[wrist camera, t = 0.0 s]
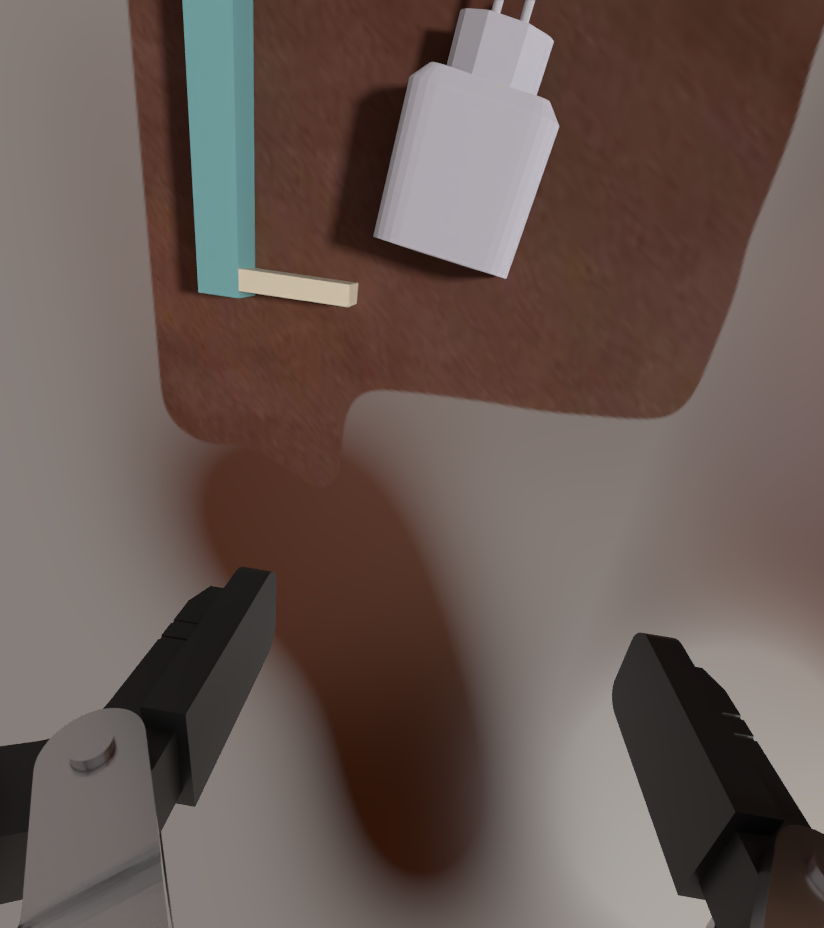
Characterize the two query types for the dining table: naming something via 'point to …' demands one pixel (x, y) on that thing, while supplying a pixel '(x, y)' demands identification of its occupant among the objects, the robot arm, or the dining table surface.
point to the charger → (472, 145)
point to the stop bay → (232, 160)
